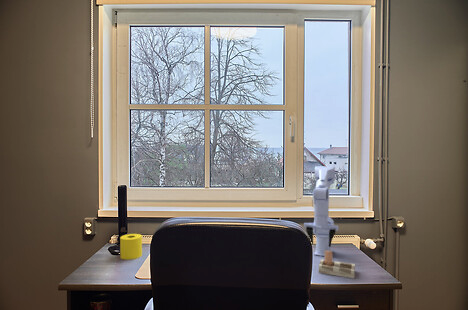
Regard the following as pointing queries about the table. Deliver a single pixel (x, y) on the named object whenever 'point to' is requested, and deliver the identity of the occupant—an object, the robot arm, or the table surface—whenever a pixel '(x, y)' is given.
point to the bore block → (337, 269)
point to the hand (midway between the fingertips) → (320, 245)
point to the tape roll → (131, 246)
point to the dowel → (328, 258)
